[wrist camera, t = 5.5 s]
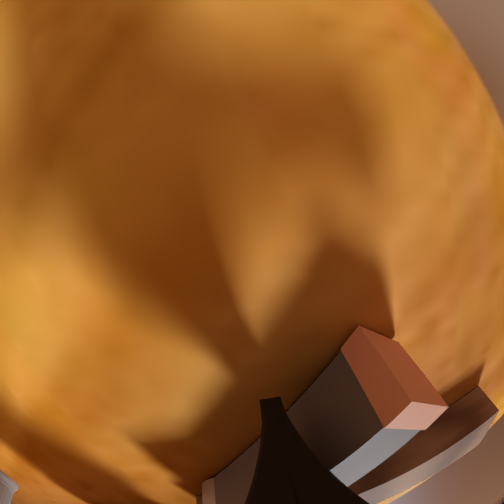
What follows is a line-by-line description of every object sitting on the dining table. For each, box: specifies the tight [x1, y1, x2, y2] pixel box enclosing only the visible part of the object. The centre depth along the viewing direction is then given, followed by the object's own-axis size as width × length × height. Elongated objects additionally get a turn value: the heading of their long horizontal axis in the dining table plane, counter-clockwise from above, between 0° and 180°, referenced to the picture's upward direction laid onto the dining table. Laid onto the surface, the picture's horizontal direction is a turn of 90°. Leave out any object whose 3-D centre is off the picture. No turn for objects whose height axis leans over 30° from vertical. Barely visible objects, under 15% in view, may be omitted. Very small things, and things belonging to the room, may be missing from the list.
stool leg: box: [202, 325, 448, 504], centre depth 11 cm, size 15×3×4 cm, turn 150°
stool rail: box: [196, 386, 499, 504], centre depth 13 cm, size 22×10×5 cm, turn 109°
